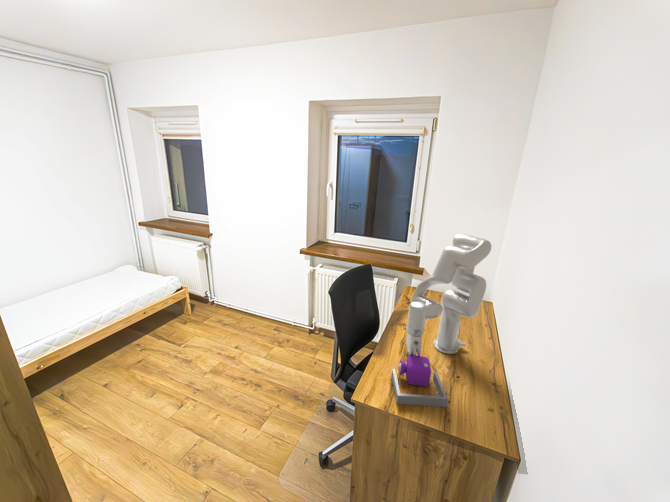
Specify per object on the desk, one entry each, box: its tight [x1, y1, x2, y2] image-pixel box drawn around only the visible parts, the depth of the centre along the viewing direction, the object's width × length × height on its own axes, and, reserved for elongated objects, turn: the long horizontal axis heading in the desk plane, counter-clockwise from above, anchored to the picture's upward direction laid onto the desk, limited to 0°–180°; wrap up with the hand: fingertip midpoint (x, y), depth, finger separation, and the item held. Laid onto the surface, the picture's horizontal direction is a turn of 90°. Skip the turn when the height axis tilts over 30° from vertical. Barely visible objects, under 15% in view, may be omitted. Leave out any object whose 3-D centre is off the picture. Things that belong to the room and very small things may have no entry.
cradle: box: [391, 368, 449, 408], centre depth 118 cm, size 19×15×4 cm
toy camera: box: [397, 354, 432, 387], centre depth 124 cm, size 11×14×10 cm
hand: (410, 363), depth 133 cm, fingers closed
